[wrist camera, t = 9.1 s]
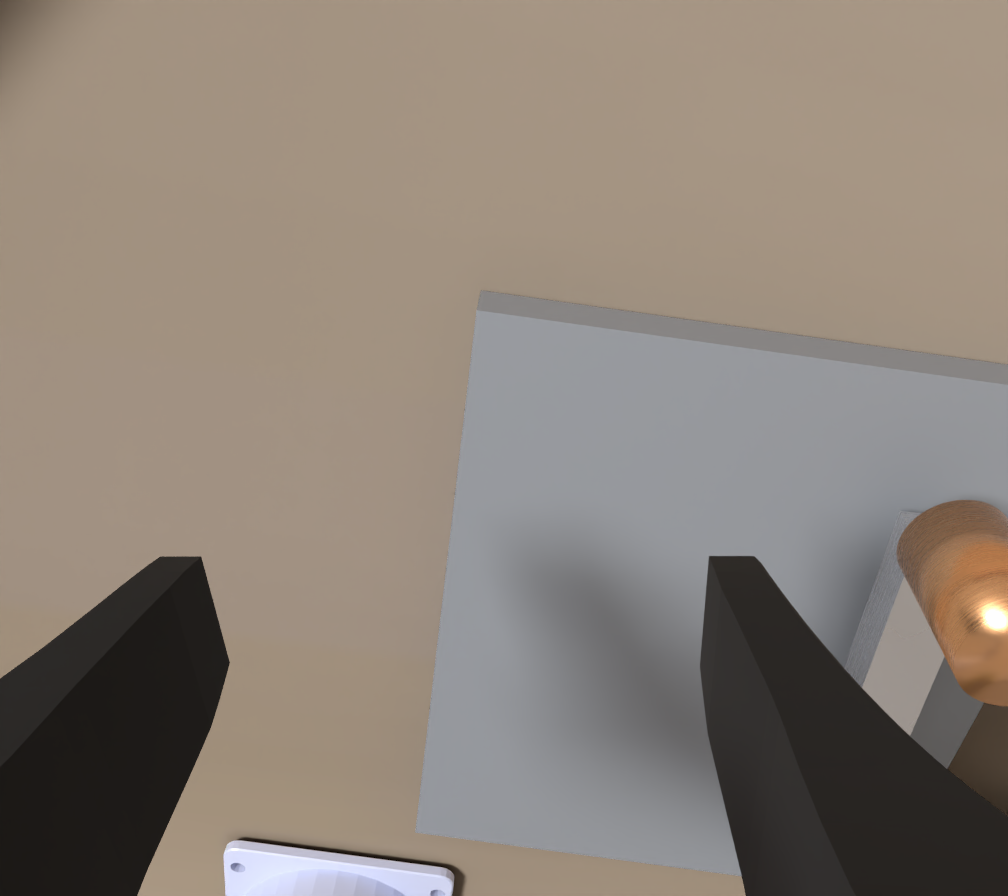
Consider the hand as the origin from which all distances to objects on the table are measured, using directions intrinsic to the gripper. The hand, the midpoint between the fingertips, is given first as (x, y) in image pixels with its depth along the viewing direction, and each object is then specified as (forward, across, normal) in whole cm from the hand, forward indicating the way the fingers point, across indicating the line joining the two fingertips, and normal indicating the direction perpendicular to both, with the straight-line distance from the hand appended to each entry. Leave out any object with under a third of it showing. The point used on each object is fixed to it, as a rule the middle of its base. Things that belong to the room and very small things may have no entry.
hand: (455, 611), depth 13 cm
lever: (+8, -9, +10) cm, 16 cm away
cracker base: (+10, -8, +10) cm, 16 cm away
